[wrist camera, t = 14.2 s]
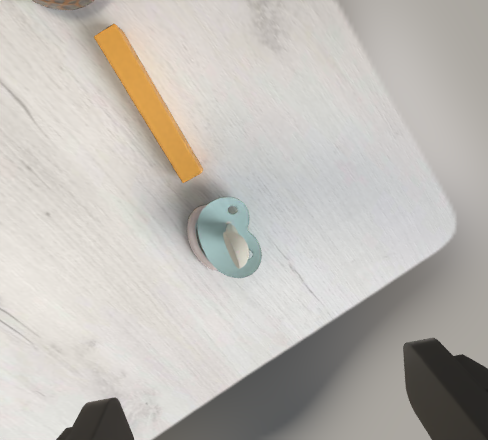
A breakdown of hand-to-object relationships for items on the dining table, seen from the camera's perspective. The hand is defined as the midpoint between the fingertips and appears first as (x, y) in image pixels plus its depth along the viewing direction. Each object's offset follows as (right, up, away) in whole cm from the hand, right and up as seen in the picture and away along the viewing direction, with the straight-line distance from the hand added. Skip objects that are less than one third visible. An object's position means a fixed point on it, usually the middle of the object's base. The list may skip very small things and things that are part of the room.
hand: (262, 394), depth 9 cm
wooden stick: (-8, +14, +17) cm, 23 cm away
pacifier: (-3, +4, +20) cm, 21 cm away
